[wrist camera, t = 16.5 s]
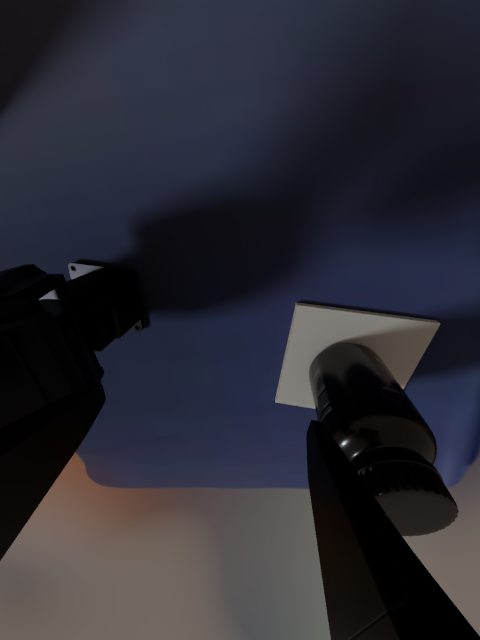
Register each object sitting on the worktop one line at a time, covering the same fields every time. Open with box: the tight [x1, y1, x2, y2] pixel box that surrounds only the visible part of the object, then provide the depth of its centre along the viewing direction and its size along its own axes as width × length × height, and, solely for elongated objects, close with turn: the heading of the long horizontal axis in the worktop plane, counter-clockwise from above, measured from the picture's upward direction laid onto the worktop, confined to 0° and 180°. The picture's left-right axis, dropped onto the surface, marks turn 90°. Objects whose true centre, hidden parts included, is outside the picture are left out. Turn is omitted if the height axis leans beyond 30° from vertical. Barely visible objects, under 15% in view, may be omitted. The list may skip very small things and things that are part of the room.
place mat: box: [275, 302, 440, 409], centre depth 23 cm, size 12×12×1 cm
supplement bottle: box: [309, 343, 458, 536], centre depth 17 cm, size 7×7×12 cm
